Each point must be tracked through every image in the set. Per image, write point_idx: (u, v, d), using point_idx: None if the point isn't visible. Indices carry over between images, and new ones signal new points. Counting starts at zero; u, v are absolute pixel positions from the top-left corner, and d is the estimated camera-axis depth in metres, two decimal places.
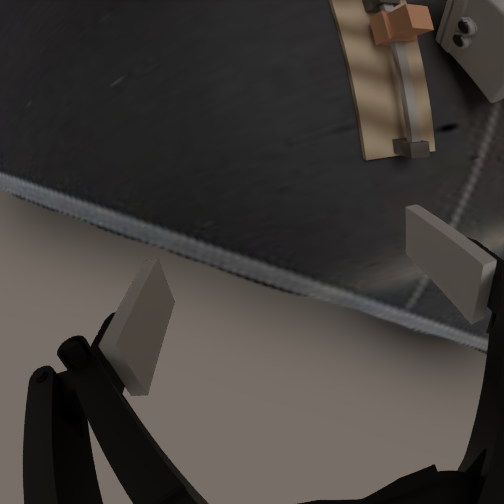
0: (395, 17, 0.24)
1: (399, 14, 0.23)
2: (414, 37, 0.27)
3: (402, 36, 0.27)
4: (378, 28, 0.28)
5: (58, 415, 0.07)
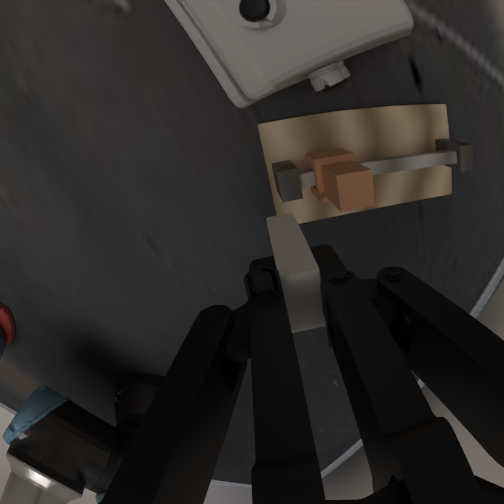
0: None
1: None
2: (351, 157, 0.27)
3: None
4: None
5: (217, 365, 0.09)
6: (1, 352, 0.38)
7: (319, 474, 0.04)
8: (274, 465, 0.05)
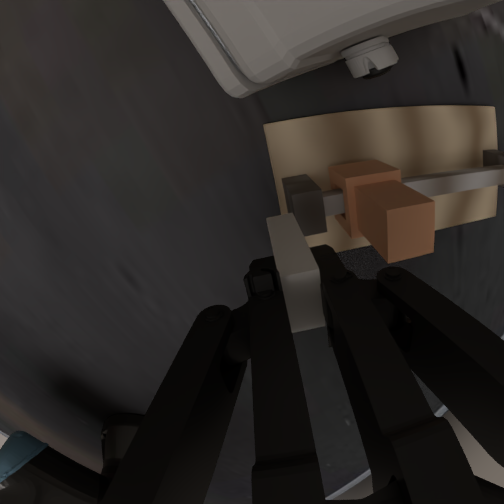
0: None
1: None
2: (395, 176, 0.18)
3: None
4: None
5: (217, 365, 0.09)
6: None
7: (319, 474, 0.04)
8: (273, 465, 0.05)
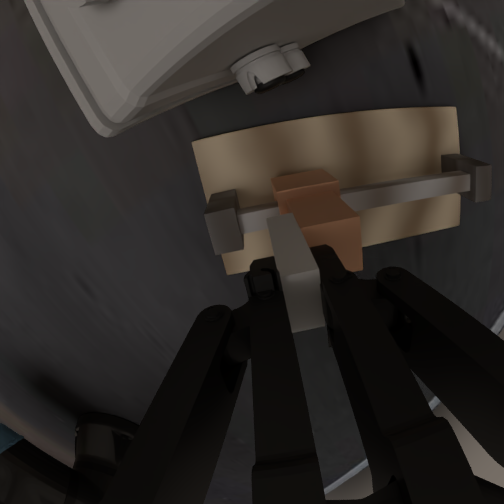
0: None
1: None
2: (333, 187, 0.19)
3: None
4: None
5: (218, 365, 0.09)
6: None
7: (319, 474, 0.04)
8: (274, 465, 0.05)
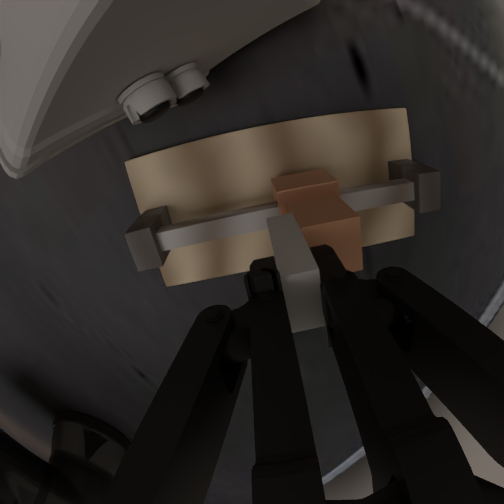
0: None
1: None
2: (333, 187, 0.19)
3: None
4: None
5: (217, 365, 0.09)
6: None
7: (319, 474, 0.04)
8: (274, 465, 0.05)
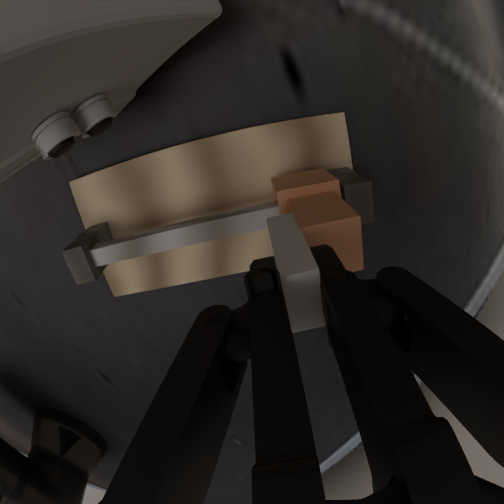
0: None
1: None
2: (333, 186, 0.19)
3: None
4: None
5: (217, 365, 0.09)
6: None
7: (319, 474, 0.04)
8: (274, 465, 0.05)
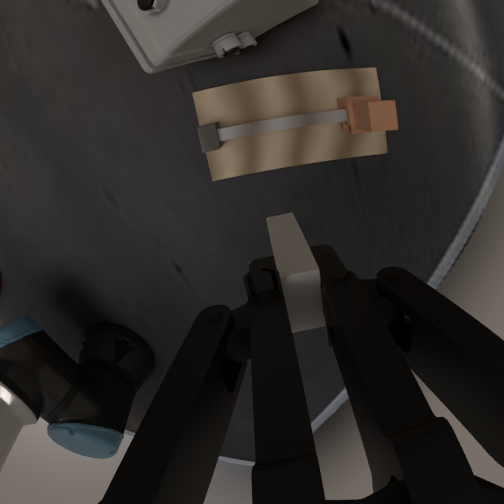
0: None
1: None
2: (376, 98, 0.30)
3: None
4: None
5: (217, 365, 0.09)
6: None
7: (319, 474, 0.04)
8: (273, 465, 0.05)
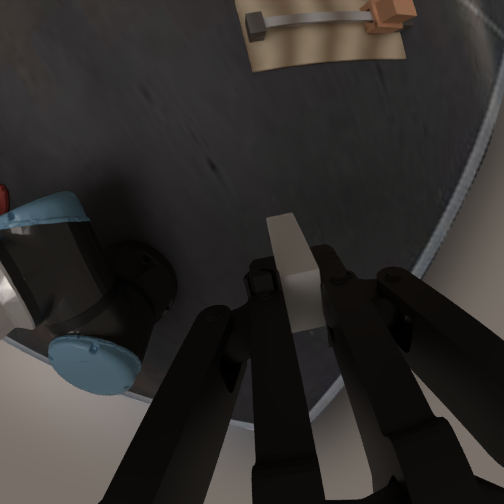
0: (392, 20, 0.27)
1: (395, 18, 0.26)
2: None
3: None
4: (384, 30, 0.31)
5: (217, 365, 0.09)
6: None
7: (319, 474, 0.04)
8: (274, 465, 0.05)
